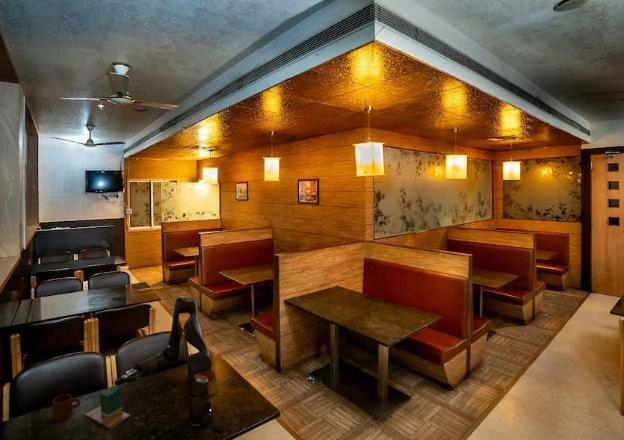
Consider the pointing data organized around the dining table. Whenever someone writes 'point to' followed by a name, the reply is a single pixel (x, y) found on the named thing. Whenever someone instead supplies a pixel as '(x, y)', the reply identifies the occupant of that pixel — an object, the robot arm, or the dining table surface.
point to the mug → (64, 406)
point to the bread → (211, 376)
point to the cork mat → (105, 421)
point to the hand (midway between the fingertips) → (115, 383)
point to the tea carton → (111, 401)
